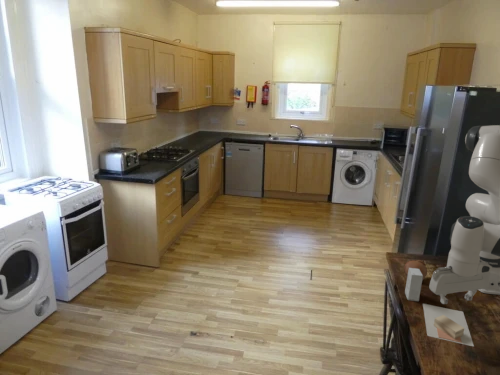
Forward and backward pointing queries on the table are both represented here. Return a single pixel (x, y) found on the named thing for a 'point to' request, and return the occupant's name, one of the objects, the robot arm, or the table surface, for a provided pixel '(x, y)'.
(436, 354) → the table surface
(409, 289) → the skincare box
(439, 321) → the beige angular block
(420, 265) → the onion
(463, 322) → the mat
